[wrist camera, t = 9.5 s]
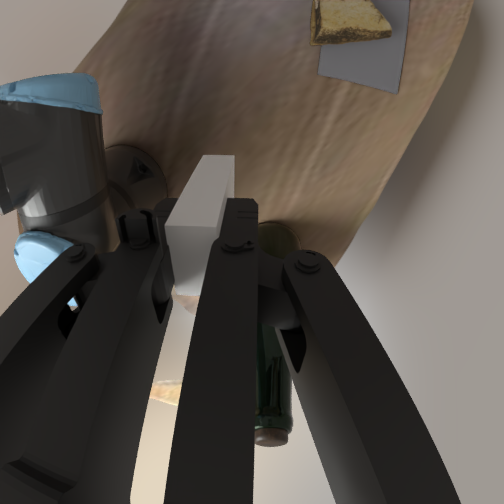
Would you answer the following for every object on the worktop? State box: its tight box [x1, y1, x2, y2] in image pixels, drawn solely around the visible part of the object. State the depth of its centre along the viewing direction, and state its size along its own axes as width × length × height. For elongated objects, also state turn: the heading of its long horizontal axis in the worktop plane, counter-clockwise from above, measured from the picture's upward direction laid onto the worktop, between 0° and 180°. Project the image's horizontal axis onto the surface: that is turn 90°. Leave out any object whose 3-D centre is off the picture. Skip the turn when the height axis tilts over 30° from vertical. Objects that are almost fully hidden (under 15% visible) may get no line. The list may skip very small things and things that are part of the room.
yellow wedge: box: [310, 0, 392, 46], centre depth 26 cm, size 11×9×10 cm
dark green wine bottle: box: [255, 223, 302, 447], centre depth 37 cm, size 10×10×33 cm
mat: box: [317, 0, 410, 94], centre depth 27 cm, size 12×20×1 cm, turn 175°
